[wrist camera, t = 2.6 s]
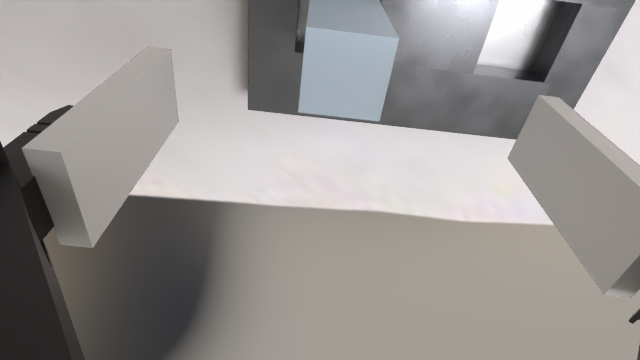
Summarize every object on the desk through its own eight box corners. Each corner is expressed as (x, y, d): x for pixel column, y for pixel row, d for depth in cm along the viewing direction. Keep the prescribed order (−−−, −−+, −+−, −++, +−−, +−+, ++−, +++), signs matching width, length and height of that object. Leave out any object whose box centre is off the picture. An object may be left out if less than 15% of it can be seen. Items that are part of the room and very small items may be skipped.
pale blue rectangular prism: (313, -26, 24) (306, 26, 14) (369, -19, 24) (399, 38, 15) (306, 43, 27) (296, 126, 17) (357, 49, 27) (376, 135, 17)
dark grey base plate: (257, -141, 21) (249, -146, 19) (642, -82, 23) (680, -79, 20) (253, 92, 30) (247, 109, 27) (536, 124, 31) (553, 143, 29)
